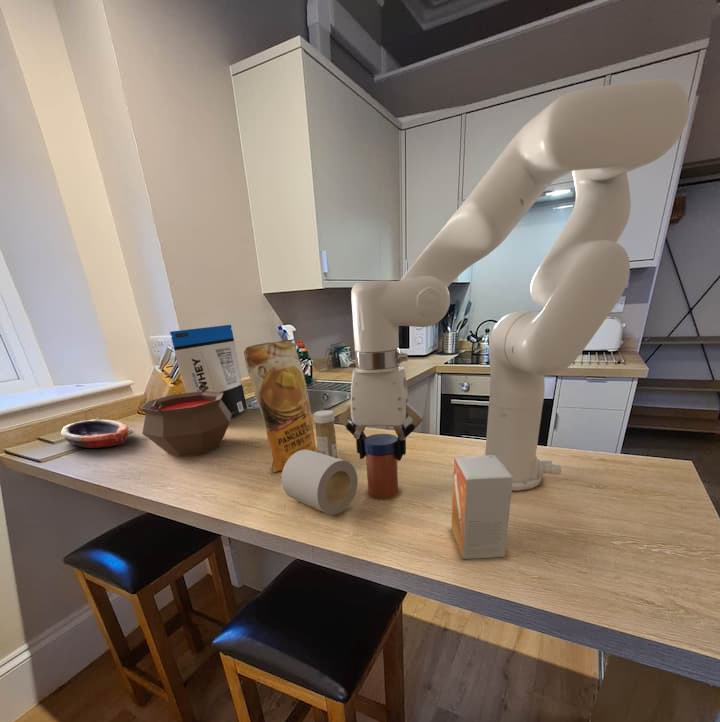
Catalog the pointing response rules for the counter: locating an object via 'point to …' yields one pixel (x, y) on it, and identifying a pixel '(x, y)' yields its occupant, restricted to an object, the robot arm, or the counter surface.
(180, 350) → the protein powder
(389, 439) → the lid
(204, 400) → the brown faceted pot
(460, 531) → the small box
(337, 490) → the toilet paper
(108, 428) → the dish
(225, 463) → the counter surface
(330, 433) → the sprinkles bottle
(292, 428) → the pancake mix bag
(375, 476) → the jar
